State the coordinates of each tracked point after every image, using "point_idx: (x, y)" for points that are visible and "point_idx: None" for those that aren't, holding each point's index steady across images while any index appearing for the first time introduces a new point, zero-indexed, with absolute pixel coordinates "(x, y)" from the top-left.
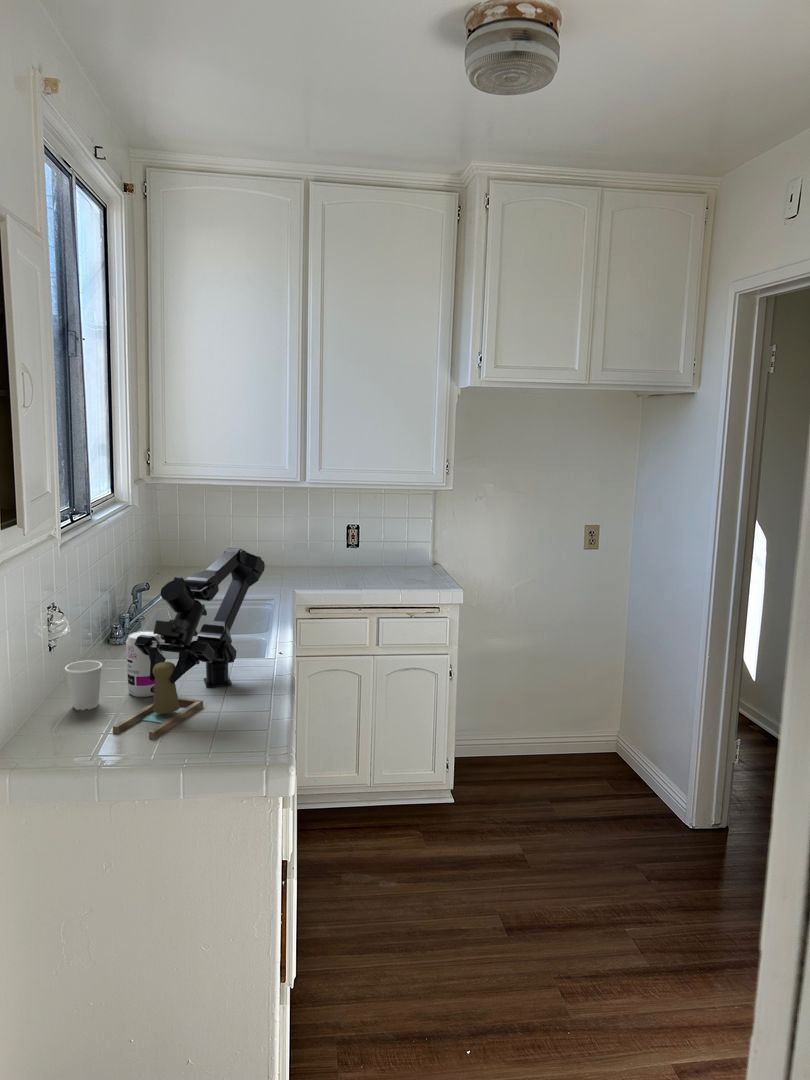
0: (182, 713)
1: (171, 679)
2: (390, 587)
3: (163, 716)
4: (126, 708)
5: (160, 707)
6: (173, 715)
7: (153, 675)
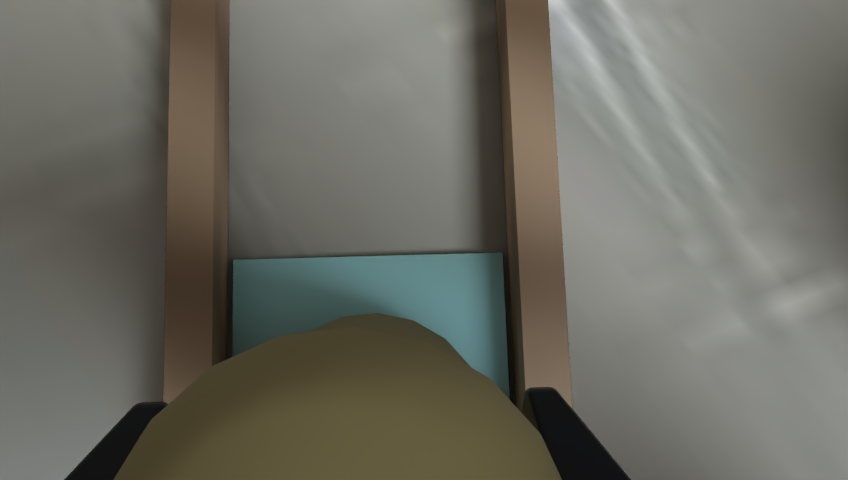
0: (167, 392)
1: (136, 423)
2: None
3: None
4: (771, 429)
5: (350, 322)
6: None
7: None
